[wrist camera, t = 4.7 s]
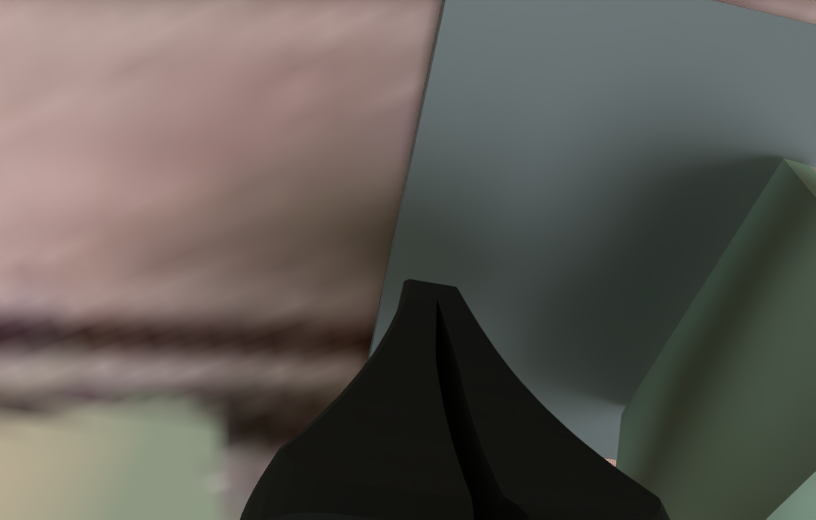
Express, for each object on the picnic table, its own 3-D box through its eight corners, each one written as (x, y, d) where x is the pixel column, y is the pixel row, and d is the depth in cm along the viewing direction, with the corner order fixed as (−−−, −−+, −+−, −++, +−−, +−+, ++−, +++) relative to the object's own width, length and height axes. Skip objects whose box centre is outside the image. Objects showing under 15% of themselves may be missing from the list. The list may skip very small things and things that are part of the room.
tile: (783, 158, 13) (834, 173, 12) (621, 413, 18) (654, 429, 18) (940, 349, 6) (1076, 398, 5) (592, 687, 11) (648, 721, 10)
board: (845, 473, 22) (862, 494, 21) (358, 403, 20) (355, 423, 19) (1225, 124, 14) (1278, 136, 13) (455, -60, 12) (458, -61, 11)
